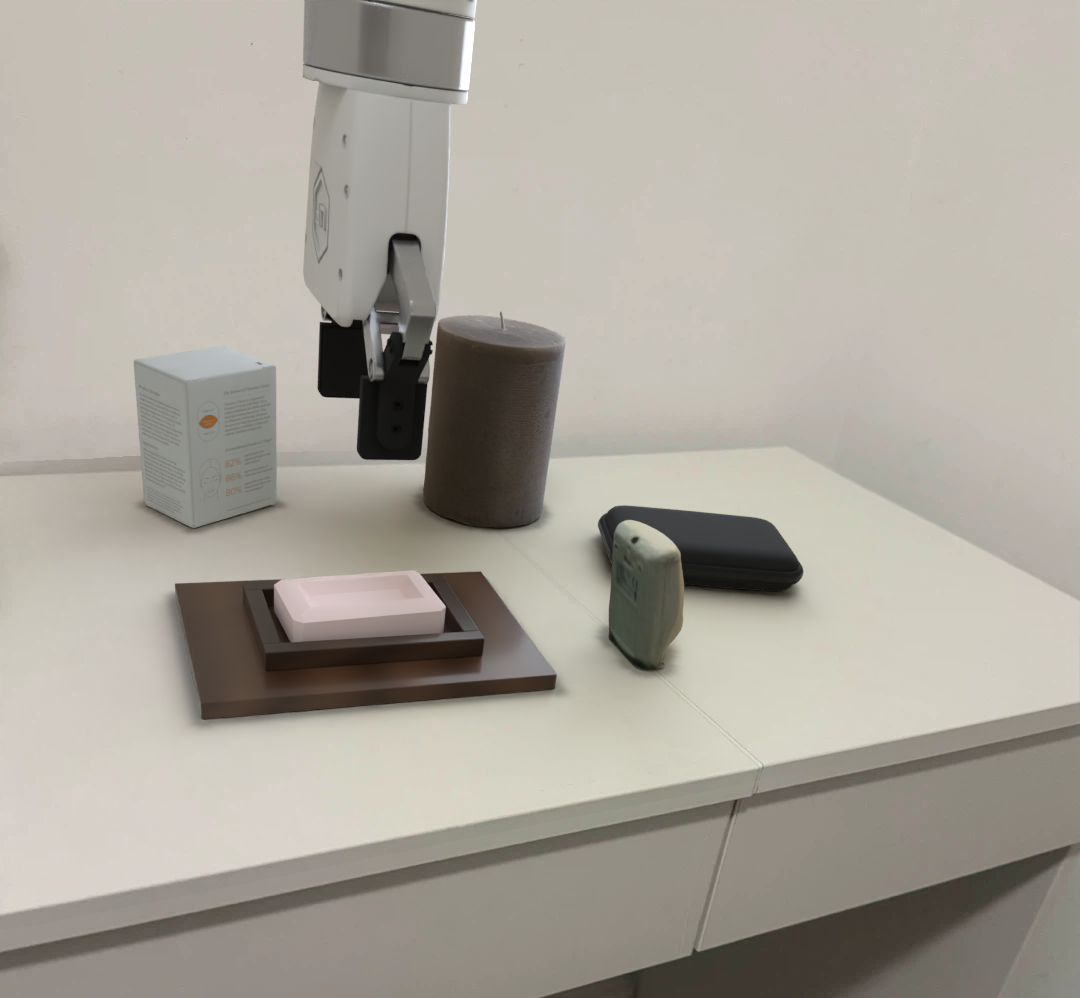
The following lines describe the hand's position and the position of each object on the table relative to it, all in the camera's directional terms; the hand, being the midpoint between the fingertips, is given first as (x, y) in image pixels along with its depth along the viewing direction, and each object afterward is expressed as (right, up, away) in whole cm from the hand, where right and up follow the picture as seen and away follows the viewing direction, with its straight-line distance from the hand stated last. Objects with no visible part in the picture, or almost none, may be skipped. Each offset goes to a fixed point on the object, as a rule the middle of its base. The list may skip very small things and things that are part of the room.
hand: (365, 425), depth 57 cm
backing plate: (-1, -11, +7) cm, 13 cm away
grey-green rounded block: (+15, -11, +11) cm, 22 cm away
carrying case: (+21, -4, +24) cm, 33 cm away
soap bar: (-2, -10, +7) cm, 13 cm away
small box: (-15, 0, +21) cm, 26 cm away
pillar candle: (+5, +1, +29) cm, 29 cm away
